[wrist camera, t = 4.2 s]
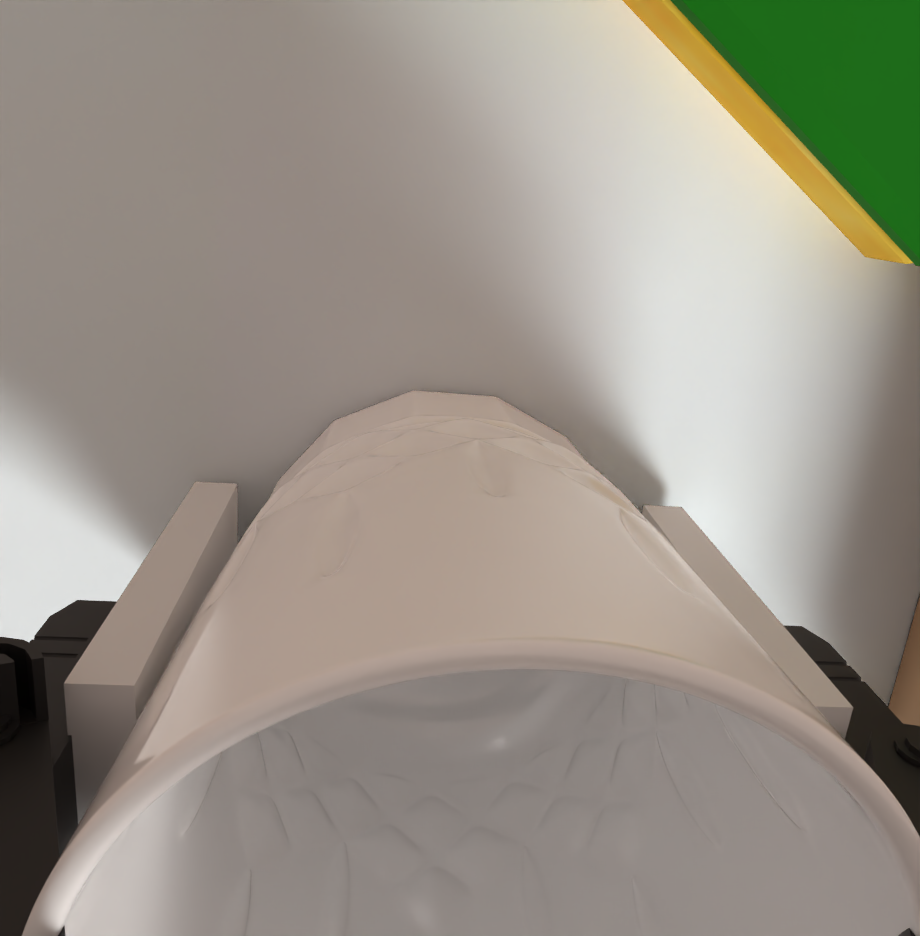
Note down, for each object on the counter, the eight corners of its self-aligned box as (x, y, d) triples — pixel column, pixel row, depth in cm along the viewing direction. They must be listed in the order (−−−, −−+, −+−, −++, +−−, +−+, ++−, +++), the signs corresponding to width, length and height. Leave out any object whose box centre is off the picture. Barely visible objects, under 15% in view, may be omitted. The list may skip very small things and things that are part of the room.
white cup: (649, 696, 18) (929, 1270, 9) (277, 755, 18) (144, 1407, 8) (624, 326, 15) (985, 565, 6) (188, 389, 15) (-150, 741, 6)
